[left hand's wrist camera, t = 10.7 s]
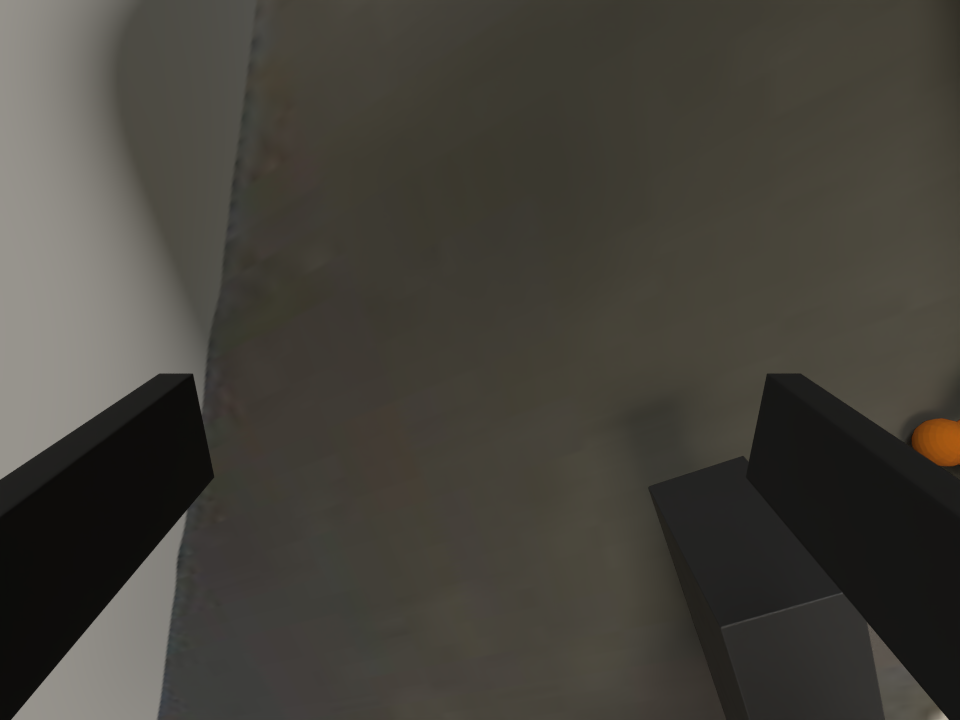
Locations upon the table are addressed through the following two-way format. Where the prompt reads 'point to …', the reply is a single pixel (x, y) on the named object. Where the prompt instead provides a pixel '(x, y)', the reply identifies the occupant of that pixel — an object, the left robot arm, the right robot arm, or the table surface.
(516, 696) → the table surface
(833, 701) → the box
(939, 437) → the molecular model
